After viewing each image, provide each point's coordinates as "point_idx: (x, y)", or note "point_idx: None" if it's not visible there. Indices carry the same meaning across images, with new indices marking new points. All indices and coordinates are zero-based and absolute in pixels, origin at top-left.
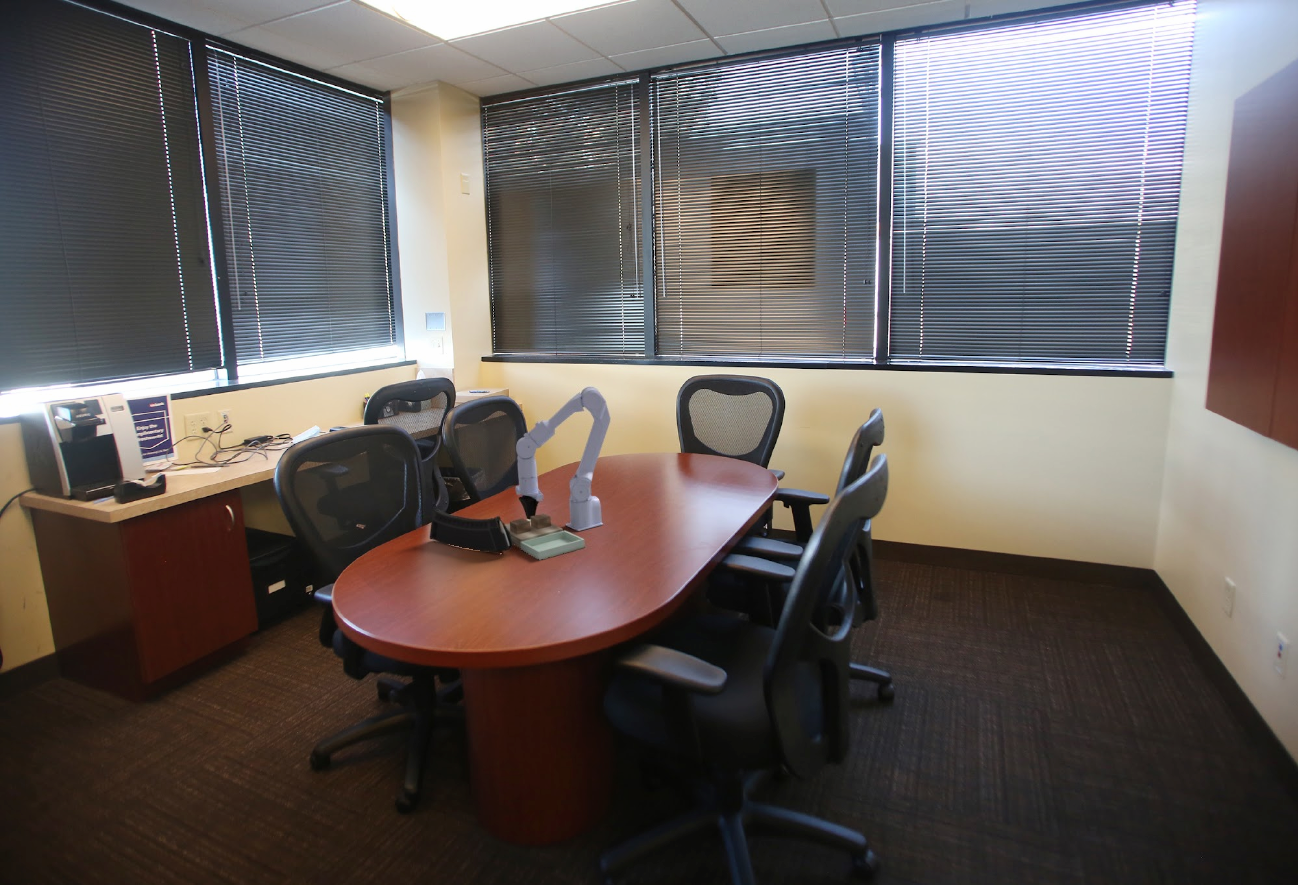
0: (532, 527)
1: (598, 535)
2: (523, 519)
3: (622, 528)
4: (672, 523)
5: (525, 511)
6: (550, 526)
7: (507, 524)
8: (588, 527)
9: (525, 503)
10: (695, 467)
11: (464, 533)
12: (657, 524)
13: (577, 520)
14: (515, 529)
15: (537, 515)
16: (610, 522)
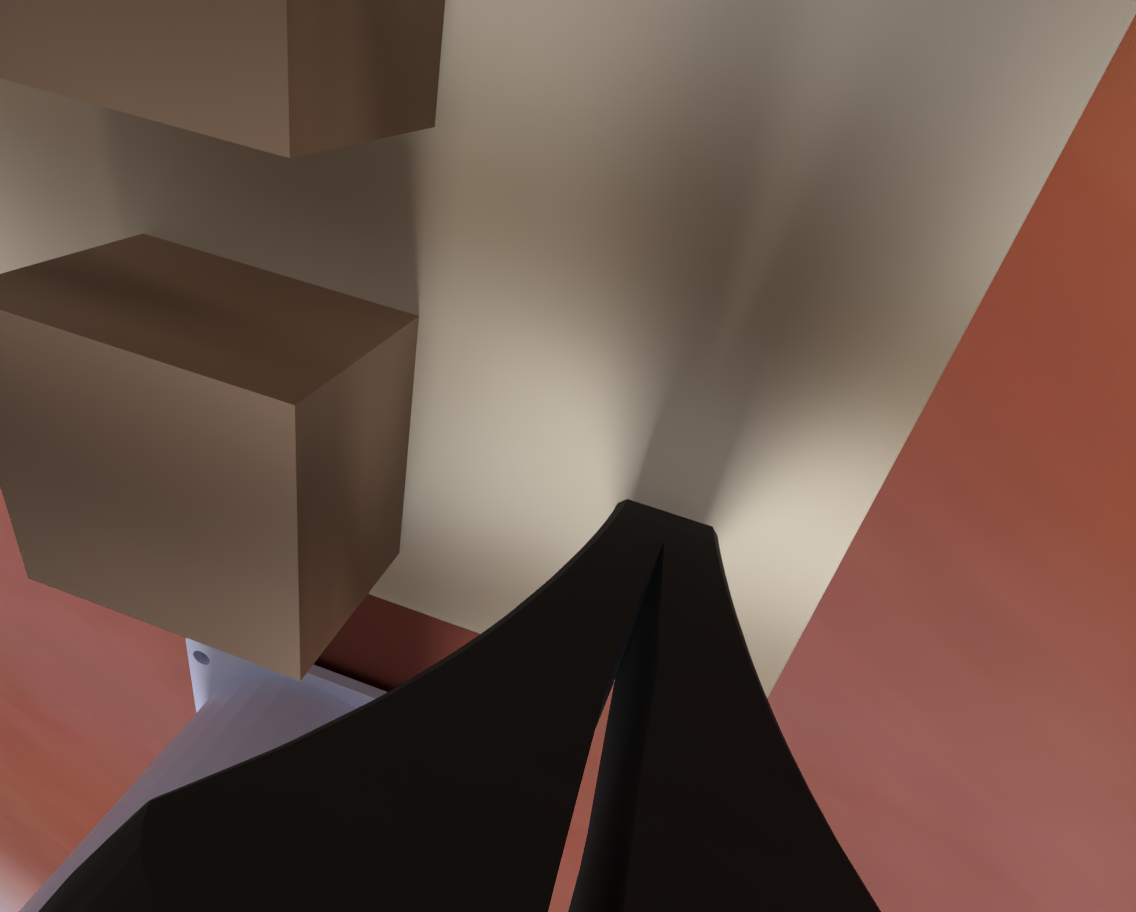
0: (306, 253)
1: (9, 600)
2: (157, 63)
3: (73, 772)
4: (9, 888)
5: (686, 624)
6: None
7: (1078, 30)
8: (196, 711)
9: (326, 787)
10: None
11: None
12: (33, 866)
13: (183, 747)
14: None
15: (253, 538)
16: None
